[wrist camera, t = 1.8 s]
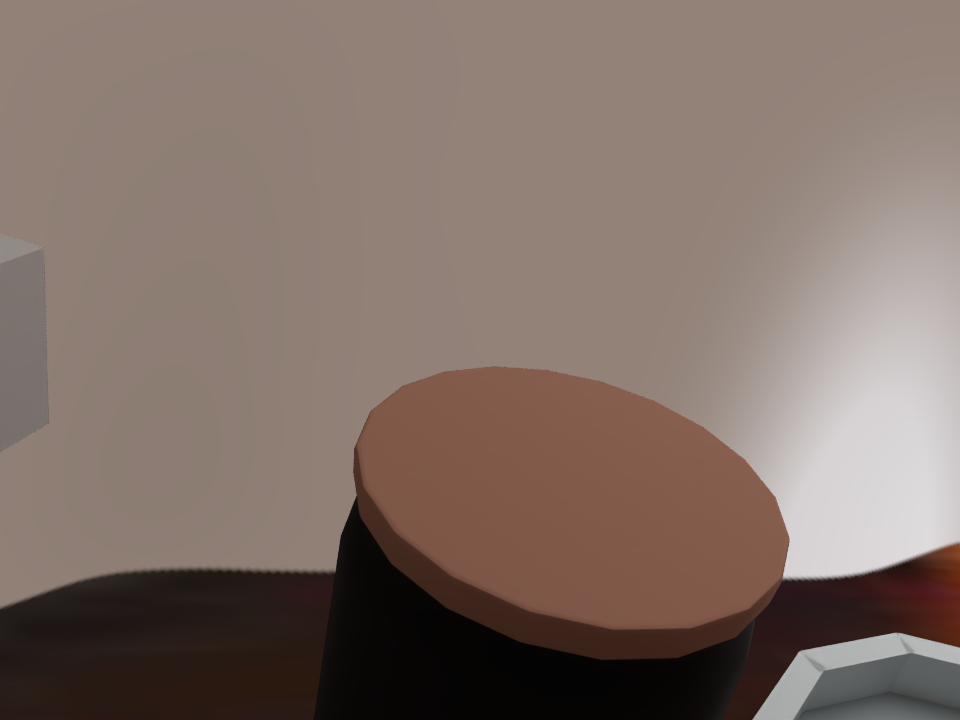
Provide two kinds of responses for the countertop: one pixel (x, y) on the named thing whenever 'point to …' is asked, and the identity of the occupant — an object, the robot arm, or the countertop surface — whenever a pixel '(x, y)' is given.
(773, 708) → the bowl
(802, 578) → the countertop surface
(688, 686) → the coffee jar
